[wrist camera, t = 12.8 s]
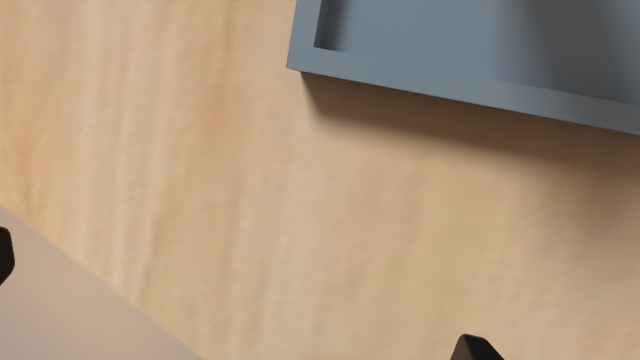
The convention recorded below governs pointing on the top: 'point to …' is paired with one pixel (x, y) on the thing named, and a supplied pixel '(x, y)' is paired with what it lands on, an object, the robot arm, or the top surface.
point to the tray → (484, 53)
